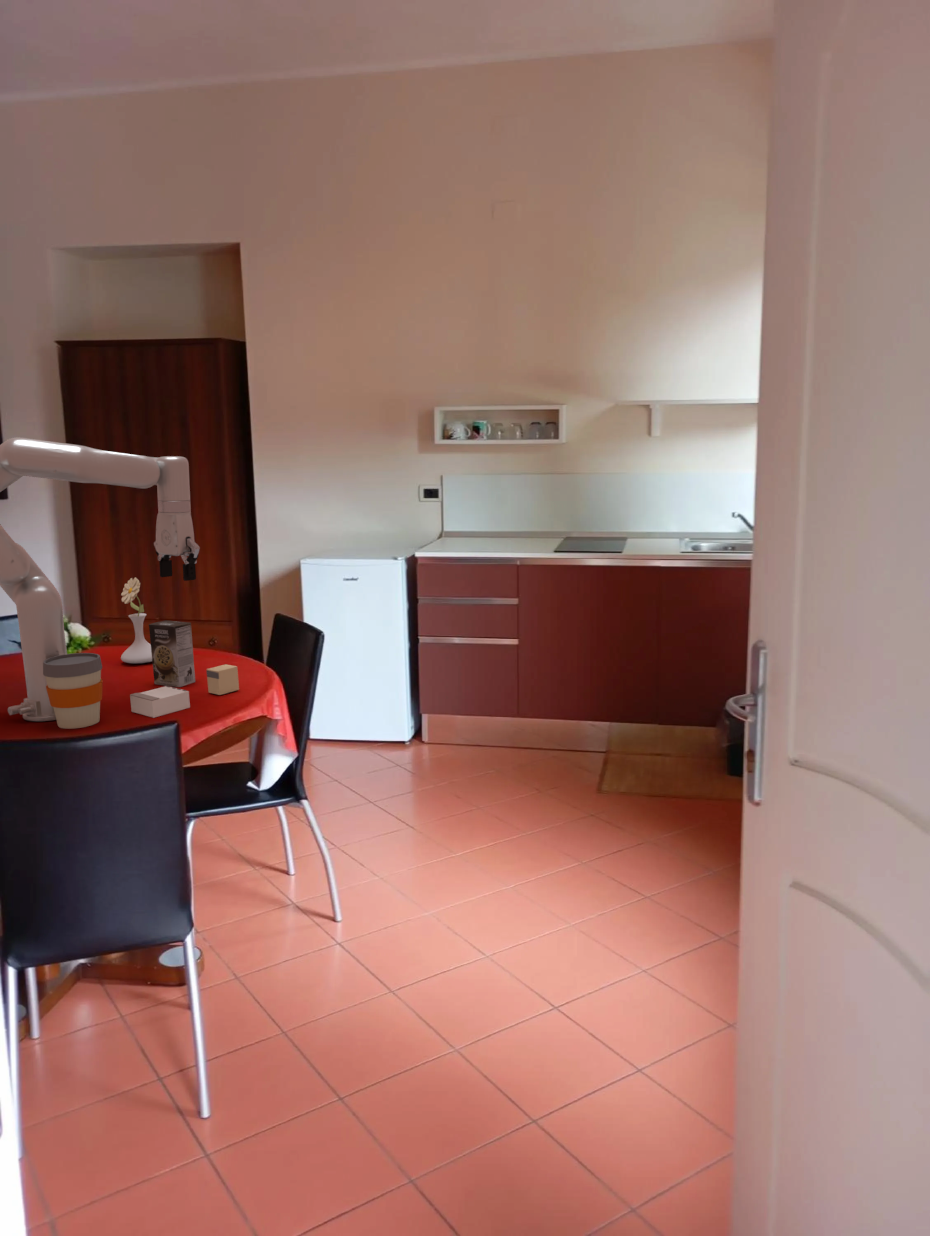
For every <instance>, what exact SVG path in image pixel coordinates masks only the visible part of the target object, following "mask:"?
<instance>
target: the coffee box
mask: <svg viewBox="0 0 930 1236" xmlns="http://www.w3.org/2000/svg"><path fill="white" fill-rule="evenodd" d="M148 629H149V639H150V644H151V652H152V661H151V662H152V671H153V683H154V685H159V686H160V685H161V686H170V687H174V688H181V687H185V686H187V685H191V684H193V683H196V672H195V670H196V669H195V660H194V657H195V656H194V646H193V636H192V635H193V633H192V622H186V621H177V620H161V621H157V622H152V623H149V624H148Z"/></svg>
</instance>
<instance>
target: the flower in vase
mask: <svg viewBox="0 0 930 1236" xmlns="http://www.w3.org/2000/svg"><path fill="white" fill-rule="evenodd" d="M140 587H141V582H140V580H139V579H138V578H137V577H134V578H133V577H131V578H130V579H129V580H127V583H124V587H123V589H122V592H121V594H120V596H122V597H121V602H122V603H124V604H125V605H126V604H127V605H128V604H129V603H130V607H131V608H132V609H134V610H135V611H138V612H137V613H133V614H129V615H127V616H128V618H129V619H130V620H131V622H132V623H133V624H132V625H133V629H134V636H135V637H134V641H133V642H132V644H131V645H130V646H128V648H127V649H126V650H124V652H122V654H121V657H120V660H121V661H122V662H124V663H127V664H134V665H135V664H137V665H138V664H146V663H151V662H152V652H151V642H150V643H149V642H148V641H147V640H146V639H145V635H144V621H145V618H146V616H147V613H144V612H145V609H144V603H143V604H141V603H142V602H141V601H140V598H139V597H138V593H139V592H140ZM135 598H136V599H137V601H138V603H139V606H138V605H136V604H135V603H134V602H133V601H135V600H136V599H135Z"/></svg>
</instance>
